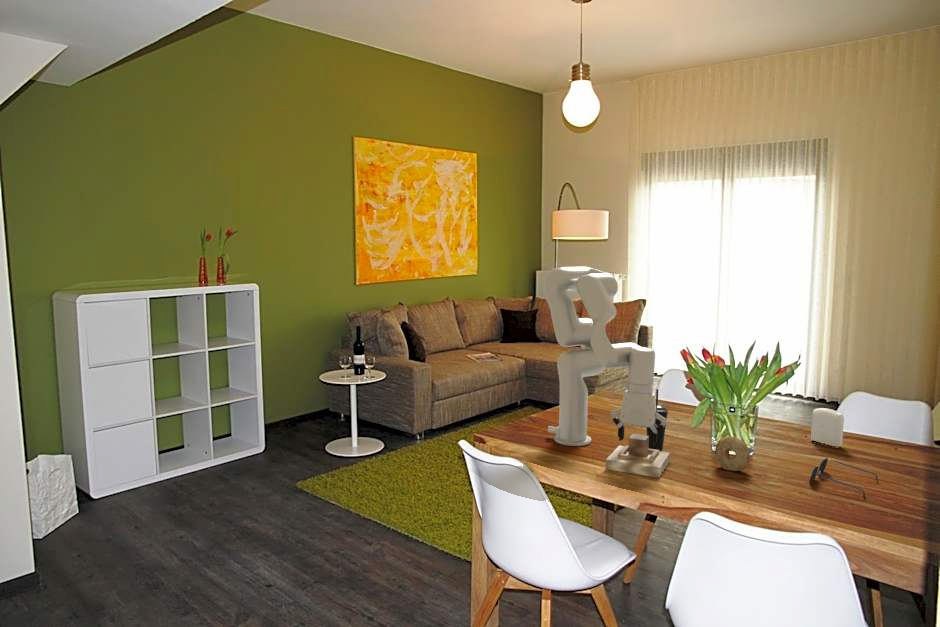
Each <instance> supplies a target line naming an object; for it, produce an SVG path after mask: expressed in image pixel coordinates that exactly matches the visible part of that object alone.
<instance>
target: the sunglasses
mask: <svg viewBox="0 0 940 627" xmlns="http://www.w3.org/2000/svg"><path fill="white" fill-rule="evenodd" d="M828 460H829V461H832V462H835V463H838V464H841V465H844V466H847V467H850V468H853V469H856V470H859V471H863V472H866V473H869V474H871V475H874V476H875V481H876V480H878V481H879V478H878V475H877V474H876V473H874V472H871V471H868V470H865V469H863V468H860V467H856V466H853V465H849V464H847V463H844V462H842V461H841V462H840V461H838V460H834V459H829V458H828V457H825V458H824V459H822V461H821V462H820V464H819V466H815V467H813V469H812V472H811V476H810V478H809V482H808V484H809V485H811V484H812V483H813V482H814V481H815V479H816V477H817V476H818V477H821V478H824V479H827V480H830V481H833V482H836V483H839V484H841V485H844V486H848V487H851V488H853V489H855V490H856V489H857V490H859V491H861V492H862V498H863V499H866V493H865V491H864V489H862V488H860V487H857V486H854V485H851V484H848V483H846V482H841V481H839V480H836V479H833V478H830V477H828V476H824V475H822V473H821V472H822V471H823V472H824V471H825V470H826V467H827V465H828ZM819 474H820V475H819ZM813 480H814V481H813ZM812 481H813V482H812ZM811 482H812V483H811Z"/></svg>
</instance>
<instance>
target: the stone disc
mask: <svg viewBox="0 0 940 627" xmlns="http://www.w3.org/2000/svg"><path fill="white" fill-rule="evenodd" d="M731 451H734V452H735V456H731V454H730V452H731ZM714 459H715V461H716V464H718V465H719V466H720V468H722V469H724V470H726V471H733V472H738V471H743V470H744V469H746V468H747V467H748V466H749V465H750V463H751V460H752V459H751V455H750V450H749V447H748V445H747V443H746V442H745V441H744V440H742V439H741V438H739V437H736V436H725V437H721V438H720V439H719V440H718V441H717V443H716V445H715V448H714Z"/></svg>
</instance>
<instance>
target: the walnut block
mask: <svg viewBox="0 0 940 627" xmlns="http://www.w3.org/2000/svg"><path fill="white" fill-rule="evenodd" d="M628 446H629V449H628V455H633V456H640V457H647V456H648V449H649V436H647V435H645V434H636V433H633V434H631V435H630V436H629V437H628Z"/></svg>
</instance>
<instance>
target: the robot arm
mask: <svg viewBox="0 0 940 627" xmlns="http://www.w3.org/2000/svg"><path fill="white" fill-rule="evenodd" d="M618 290H619V284H618V282H617V279H616V278H615V277H614V275H612V274H611V273H609V272H606V271H602V270H599V269H596V268H592V267H590V266H561V267H556V268H552V269H551V270H549V271H548V273H546V275H545V276H544V281H543V293H544V297H545V299H546V303H547V305H548V307H549V310H550V315H551V321H552V326H553V328H554V329H553V330H554V334H555V339H556V341H557V344H558V345H560V346H561V347H564V348H569V347H578V346H579V347H581V348H580V349H571V350H567V351H564V352H562V353H561V354H560V355H559V356H558V358H557V362H556V363H557V364H556V367H557V373H558V377H559V378H558V381H559V411H558V412H559V413H558V414H559V416H558V426H553V425H548V427H547V432H548V433H549V434H555V435H554V438H553V440H554V442H555V443H557V444H560V445H562V446H571V447H581V446H583V447H584V446H587V445H590V444H592V443H591V442H592V437H591V436H590V435H588V404H589V402H588V401H589V399H588V397H589V396H588V395H589V392H588V387H587V385H586V383H585V381H584V378H585V377H593V376H594V377H595V376H597V375H600V374H602V373H603V372H604V371H605V368H606V369H609V370H612V369H620V368H628V373H627V381H626V382H625V381H624V382H623V383H622V387H625V388H626V390H624V391H623V392H624V393H623V397H622V402H621V407H619V408H617V409H615V410H611V411H610V413H609V414H610V416H611V418H612V421H613V423H614V425H616V427H617V437H618V440H619V441H623V440H624V439H625V425H630V426H636V427H642V428H643V427H644V428H646V427H650V428H651V430H652V431H653V432H652V433H651V446H654V444H655V443H657V434H658V432H659V431H660V430H661V429H663V427H664V426H665V424H666V425H667V423H668V421H669V420H668V418H667V419H666V418H664V417H663V416H661V415H660V414H658V413H657V412H656V392H654V379H655V363H656V352H655V350H654V349H652V348H651V347H645V346H641V345H639V344H637V343H634V342H620V343H611V342H610V340H609V337H608V335H607V332H606V325H607V324H608V323H610V322H612V320H613V319H615V317H616V316H617V312H618V311H617V308H616V307H615V305H614V303H613V301H612V299H611V298H613V297H615V296H616V295H617V293H618ZM568 292H572V293H573V292H577V294H578V295H579V297H580V300H581V301H582V304H583V305H584V307H585V310H586V312H587V314H588V315H589V317H578V314H577V312H576V311H577V310H576V307H575V303H574V302H573V300H572V299H571V298H570V297H569V295H568V294H567V293H568ZM618 414H620V416H619V417H620V419H619V417H618V416H617V415H618ZM656 418H657V419H658V420H660V421H661V424H660V425H659V426H658V427H657V425H656V424H655V422H656Z"/></svg>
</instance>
